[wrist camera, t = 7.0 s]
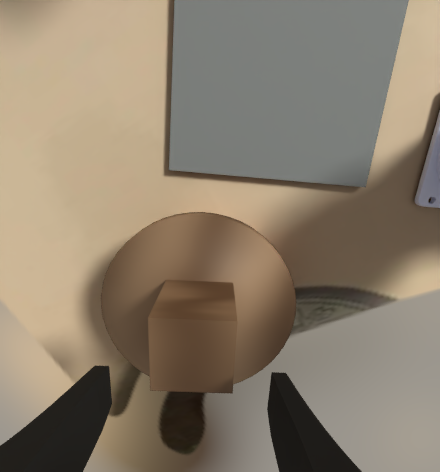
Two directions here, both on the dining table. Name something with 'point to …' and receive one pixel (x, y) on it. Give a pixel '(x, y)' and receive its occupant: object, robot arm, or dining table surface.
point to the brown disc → (198, 302)
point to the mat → (281, 86)
